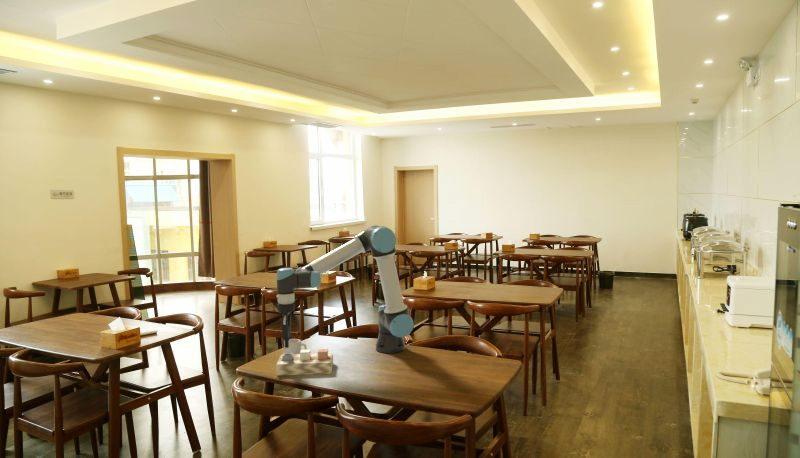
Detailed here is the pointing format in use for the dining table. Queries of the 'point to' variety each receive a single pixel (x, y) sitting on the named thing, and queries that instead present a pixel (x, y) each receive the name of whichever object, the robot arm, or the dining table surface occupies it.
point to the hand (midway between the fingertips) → (287, 353)
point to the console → (304, 365)
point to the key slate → (287, 357)
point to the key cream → (305, 355)
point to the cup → (296, 346)
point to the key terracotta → (322, 354)
